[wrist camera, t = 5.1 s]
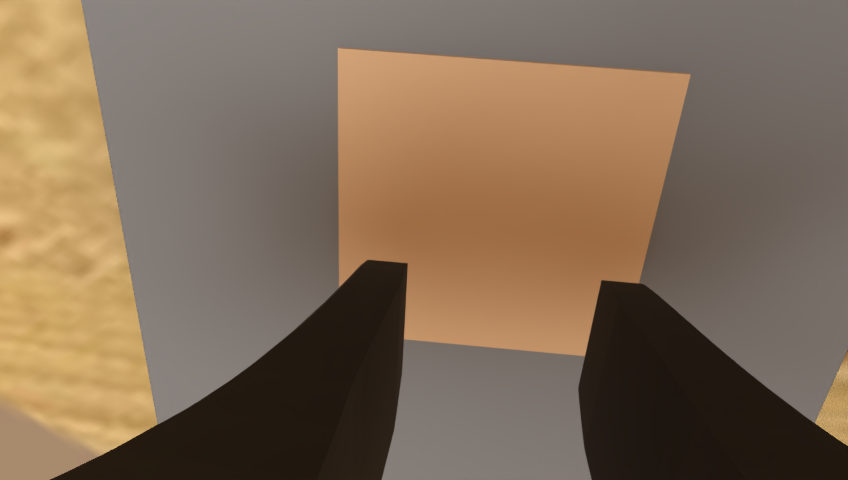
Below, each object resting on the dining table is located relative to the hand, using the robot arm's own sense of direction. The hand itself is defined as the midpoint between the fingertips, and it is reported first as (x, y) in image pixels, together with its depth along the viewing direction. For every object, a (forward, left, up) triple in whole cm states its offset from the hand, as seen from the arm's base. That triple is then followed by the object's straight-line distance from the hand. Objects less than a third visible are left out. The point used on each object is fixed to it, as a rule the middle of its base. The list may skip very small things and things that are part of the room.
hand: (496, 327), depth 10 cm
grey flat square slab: (0, 0, -7) cm, 7 cm away
